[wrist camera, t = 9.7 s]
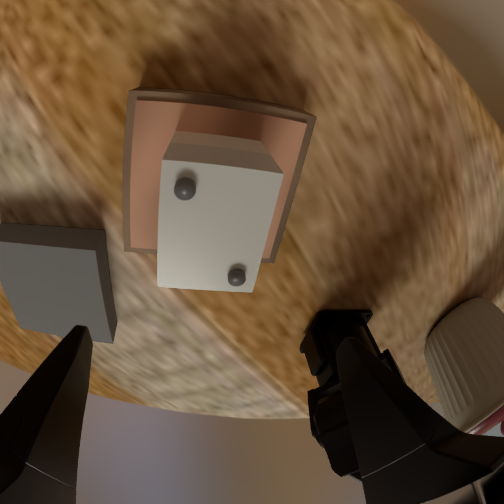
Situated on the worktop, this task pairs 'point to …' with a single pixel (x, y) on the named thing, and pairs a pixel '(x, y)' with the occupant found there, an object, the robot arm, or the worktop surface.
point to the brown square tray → (209, 122)
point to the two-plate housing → (214, 211)
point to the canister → (469, 365)
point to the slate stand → (58, 279)
